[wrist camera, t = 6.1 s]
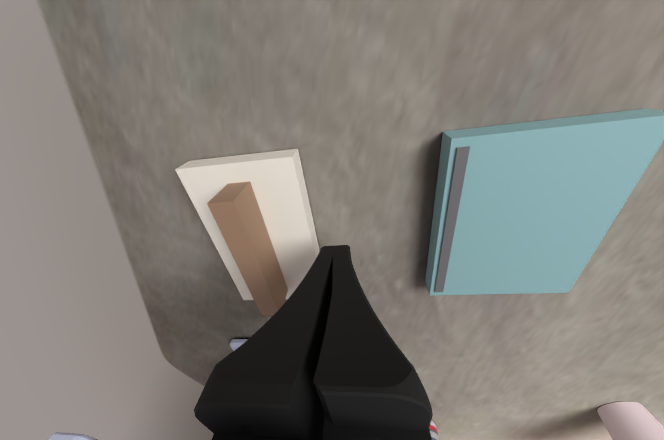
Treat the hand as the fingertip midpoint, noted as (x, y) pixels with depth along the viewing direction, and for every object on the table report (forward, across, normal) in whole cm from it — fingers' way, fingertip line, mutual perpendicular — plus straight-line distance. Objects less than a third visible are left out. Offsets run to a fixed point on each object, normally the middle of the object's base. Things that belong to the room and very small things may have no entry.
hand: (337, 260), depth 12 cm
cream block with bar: (+3, +5, 0) cm, 5 cm away
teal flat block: (+3, -9, 0) cm, 10 cm away
